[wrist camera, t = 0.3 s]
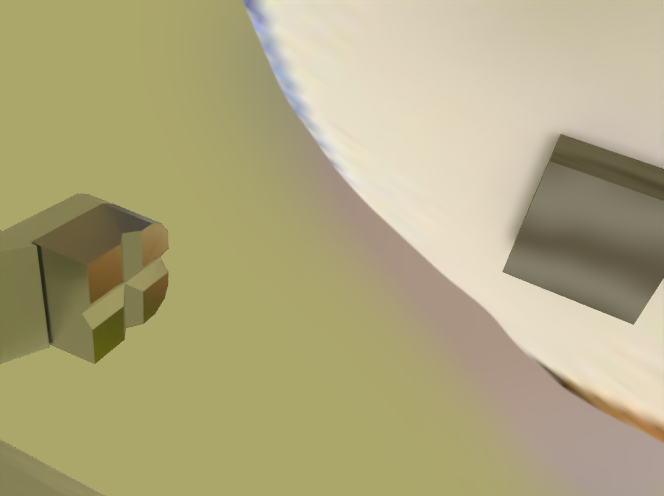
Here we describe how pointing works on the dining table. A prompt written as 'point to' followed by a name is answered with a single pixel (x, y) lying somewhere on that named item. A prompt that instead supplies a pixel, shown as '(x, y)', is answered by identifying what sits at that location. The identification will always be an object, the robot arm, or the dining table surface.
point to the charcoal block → (594, 230)
